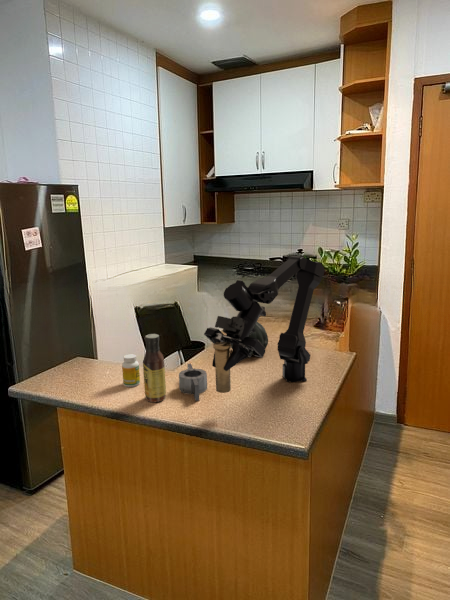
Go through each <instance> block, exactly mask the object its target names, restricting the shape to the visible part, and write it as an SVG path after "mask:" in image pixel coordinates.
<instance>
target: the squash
mask: <svg viewBox="0 0 450 600" xmlns="http://www.w3.org/2000/svg"><path fill="white" fill-rule="evenodd" d="M254 329H255V332H254V333H250V335H249V337H252V338H256V339H258V340H259V341H260V342H261V343H262V345H263V346H264V347H265V350H266V349H267V347H268V344H269V336H268V334H267V333H268V332H267V331H266V329H265V327H264V326H263V325H262V324H261V323H260V322H259V321H257V322H256V324H255V326H254ZM230 349H232V350H233V344H231V348H230ZM250 355H251V357H252V356H254V354H253V350H252V351H251V353H250Z"/></svg>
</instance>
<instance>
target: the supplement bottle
mask: <svg viewBox="0 0 450 600" xmlns="http://www.w3.org/2000/svg"><path fill="white" fill-rule="evenodd" d="M121 369H122V380H123V381H122V382H123V383H122V384H123V386H125V387H126V388H128V387H129V388H132V387H133V388H134V387H137V386H139V385H140V383H141V377H140V376H141V375H140V364H139V361H138V360H137V355H136V354H134V353H133V354H132V353H131V354H130V353H129V354H125V355H124V356H123V362H122V364H121Z"/></svg>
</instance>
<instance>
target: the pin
mask: <svg viewBox="0 0 450 600" xmlns="http://www.w3.org/2000/svg"><path fill="white" fill-rule="evenodd" d="M212 345H213V347H212V348H213V350H214V352H215V367H214V368H215V391H216V392H217V393H221V394H226V393H229V392H231V389H232V388H231V384H232V382H231V368H230V369H229V370H228V371H225V370H224V367H225V364H226V362H227V360H228V359H229V357H230V355H231V349H232V348H231V343H229V342H216V343H212Z"/></svg>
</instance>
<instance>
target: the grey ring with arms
mask: <svg viewBox="0 0 450 600" xmlns="http://www.w3.org/2000/svg"><path fill="white" fill-rule="evenodd" d="M186 364H187V369H184V370H181V371H180V372H179V373H178V384H179V392H181V393H182V394H185V395H186V394H187V395H193V398H194V400H195V402H200V394H202V393H204V392H206V391H207V390H208V374H207V371H206V370H204V369H201V368H193V365H192V363H186Z"/></svg>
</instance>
